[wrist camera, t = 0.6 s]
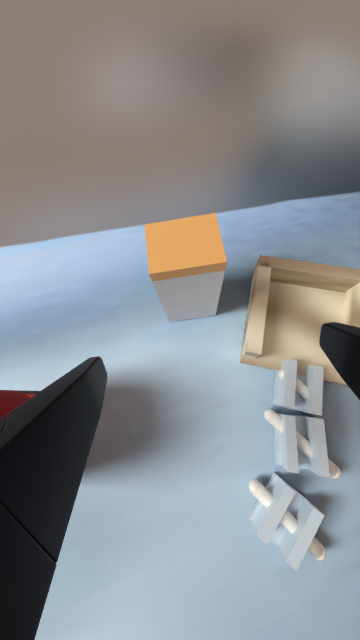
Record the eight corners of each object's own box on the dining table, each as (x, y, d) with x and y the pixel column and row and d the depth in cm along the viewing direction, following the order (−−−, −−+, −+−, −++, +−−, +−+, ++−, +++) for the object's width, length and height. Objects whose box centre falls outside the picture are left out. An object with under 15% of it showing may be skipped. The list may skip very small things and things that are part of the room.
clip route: (344, 378, 20) (359, 377, 18) (320, 569, 16) (336, 592, 14) (274, 356, 21) (281, 352, 20) (235, 529, 17) (239, 546, 15)
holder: (355, 387, 20) (381, 386, 17) (239, 362, 21) (246, 358, 19) (353, 286, 23) (375, 271, 20) (252, 271, 25) (260, 255, 22)
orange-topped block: (215, 315, 23) (226, 262, 14) (169, 322, 23) (149, 273, 14) (209, 282, 25) (215, 212, 15) (165, 289, 25) (144, 224, 15)
